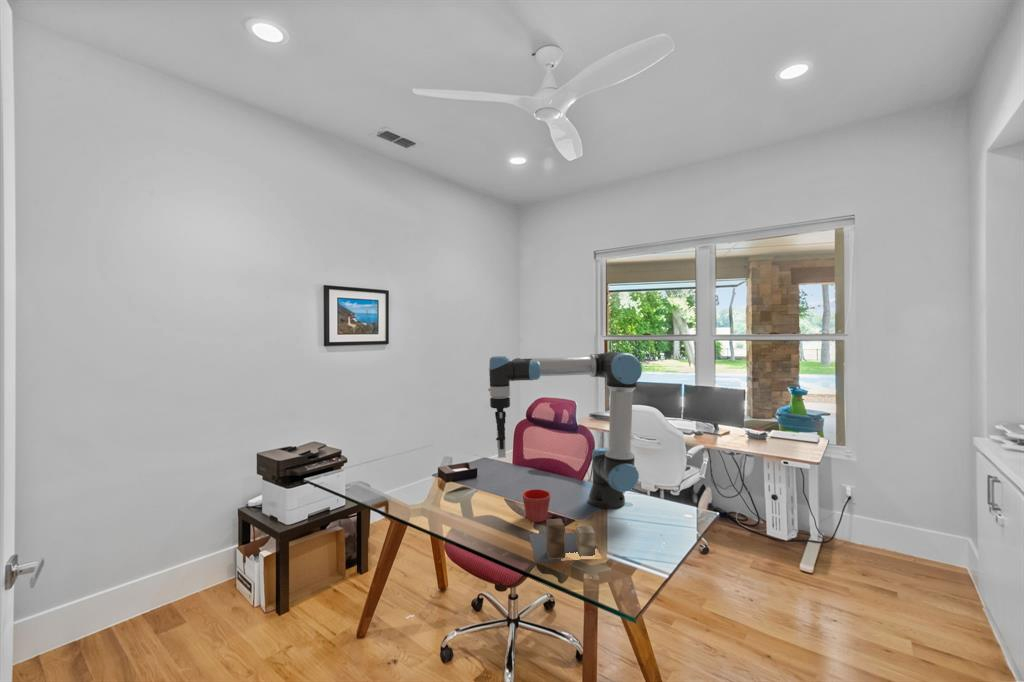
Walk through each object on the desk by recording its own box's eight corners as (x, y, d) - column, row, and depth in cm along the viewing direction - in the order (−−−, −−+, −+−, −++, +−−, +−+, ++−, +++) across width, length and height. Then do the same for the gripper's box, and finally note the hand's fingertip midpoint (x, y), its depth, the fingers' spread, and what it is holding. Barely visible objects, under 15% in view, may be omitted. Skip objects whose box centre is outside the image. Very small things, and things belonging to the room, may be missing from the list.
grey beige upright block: (591, 549, 153) (590, 525, 153) (595, 556, 148) (594, 532, 148) (576, 550, 152) (576, 526, 152) (579, 557, 147) (579, 533, 147)
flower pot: (549, 524, 174) (548, 499, 174) (520, 522, 176) (520, 497, 176) (552, 513, 184) (551, 489, 184) (525, 512, 186) (525, 488, 186)
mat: (588, 532, 166) (588, 531, 166) (603, 559, 147) (603, 558, 147) (528, 535, 165) (528, 534, 165) (536, 563, 145) (536, 562, 145)
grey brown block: (561, 551, 152) (561, 518, 152) (564, 558, 147) (564, 524, 147) (546, 552, 152) (546, 519, 151) (549, 559, 147) (548, 525, 146)
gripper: (489, 392, 186) (491, 444, 186) (490, 402, 161) (491, 462, 161) (508, 392, 186) (509, 443, 187) (511, 401, 161) (513, 461, 162)
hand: (501, 452), depth 174 cm, fingers open, 13 cm apart
